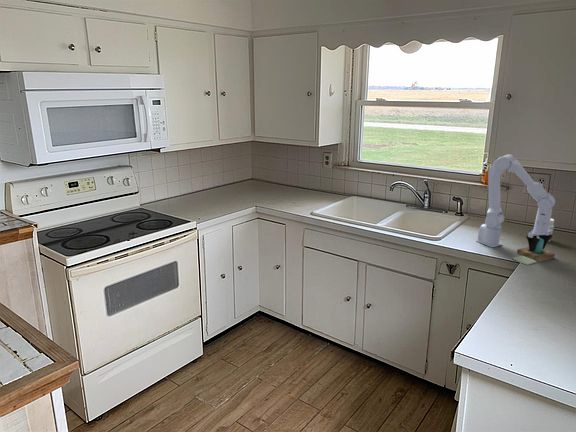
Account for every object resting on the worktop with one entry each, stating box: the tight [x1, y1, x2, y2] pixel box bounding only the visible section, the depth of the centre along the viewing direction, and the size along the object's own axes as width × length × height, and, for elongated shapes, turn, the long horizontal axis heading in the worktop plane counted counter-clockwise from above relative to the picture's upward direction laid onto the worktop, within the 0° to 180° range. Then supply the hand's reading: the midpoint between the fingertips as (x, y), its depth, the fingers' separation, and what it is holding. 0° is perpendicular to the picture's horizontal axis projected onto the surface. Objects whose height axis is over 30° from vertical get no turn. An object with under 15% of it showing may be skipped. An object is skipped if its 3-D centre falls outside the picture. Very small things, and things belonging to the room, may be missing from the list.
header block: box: [516, 246, 556, 263], centre depth 204 cm, size 11×11×2 cm
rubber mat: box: [512, 255, 538, 266], centre depth 198 cm, size 7×7×1 cm
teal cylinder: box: [531, 238, 544, 254], centre depth 203 cm, size 4×4×8 cm
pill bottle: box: [536, 217, 555, 243], centre depth 222 cm, size 6×6×11 cm
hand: (536, 249), depth 204 cm, fingers open, 6 cm apart
